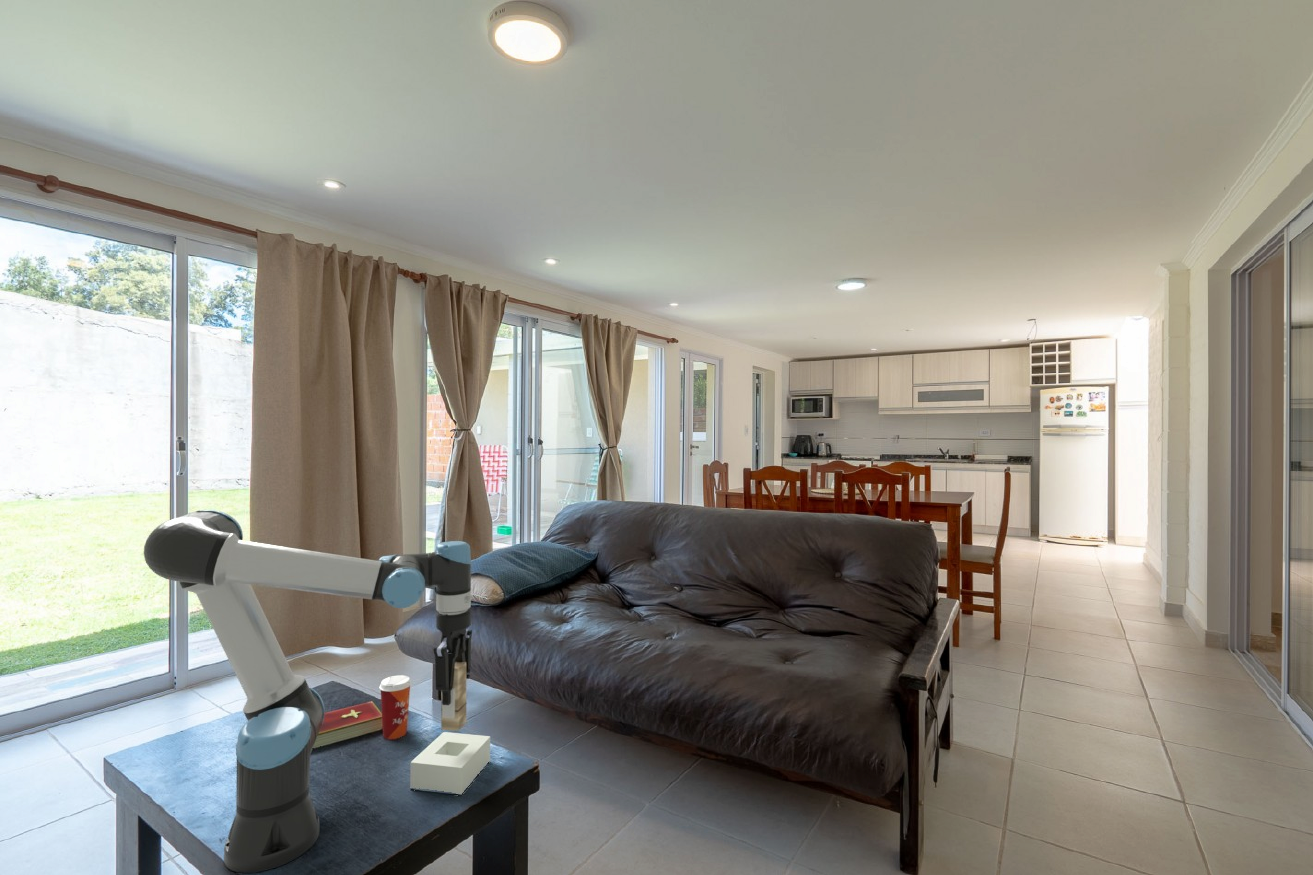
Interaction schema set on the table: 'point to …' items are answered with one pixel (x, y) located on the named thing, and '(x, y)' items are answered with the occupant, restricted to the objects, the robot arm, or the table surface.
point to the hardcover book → (349, 723)
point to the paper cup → (395, 705)
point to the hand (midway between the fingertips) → (453, 712)
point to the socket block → (450, 762)
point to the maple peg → (457, 700)
